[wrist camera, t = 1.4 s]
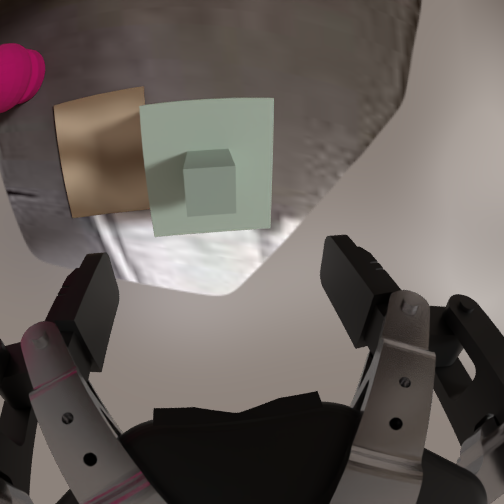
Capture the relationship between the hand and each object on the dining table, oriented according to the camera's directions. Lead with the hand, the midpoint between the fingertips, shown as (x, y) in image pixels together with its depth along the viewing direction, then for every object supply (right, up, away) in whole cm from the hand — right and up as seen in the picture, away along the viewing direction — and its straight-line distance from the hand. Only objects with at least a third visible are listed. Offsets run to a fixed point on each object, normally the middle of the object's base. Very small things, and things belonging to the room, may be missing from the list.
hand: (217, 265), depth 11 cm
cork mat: (-14, +10, +16) cm, 24 cm away
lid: (-2, +8, +13) cm, 15 cm away
